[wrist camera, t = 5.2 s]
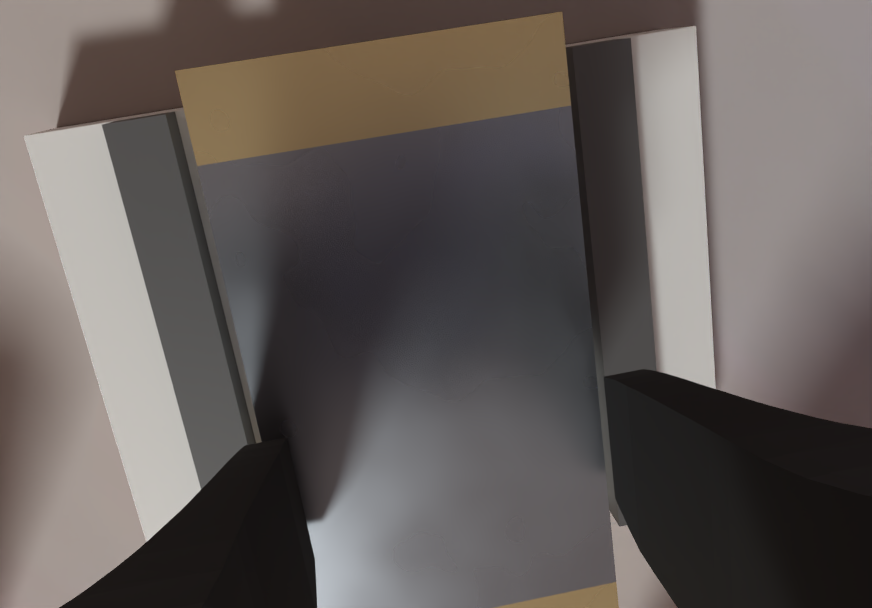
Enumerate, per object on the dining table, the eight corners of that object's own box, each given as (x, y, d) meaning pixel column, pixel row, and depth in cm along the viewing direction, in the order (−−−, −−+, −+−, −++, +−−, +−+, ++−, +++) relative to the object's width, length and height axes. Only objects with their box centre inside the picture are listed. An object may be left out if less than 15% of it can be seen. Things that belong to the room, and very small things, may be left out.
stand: (659, 29, 19) (717, 23, 16) (687, 445, 23) (739, 500, 20) (55, 128, 18) (4, 140, 15) (177, 549, 21) (154, 624, 19)
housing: (530, 461, 20) (621, 642, 14) (325, 501, 19) (323, 706, 13) (475, 29, 17) (562, 12, 11) (232, 67, 16) (174, 70, 10)
